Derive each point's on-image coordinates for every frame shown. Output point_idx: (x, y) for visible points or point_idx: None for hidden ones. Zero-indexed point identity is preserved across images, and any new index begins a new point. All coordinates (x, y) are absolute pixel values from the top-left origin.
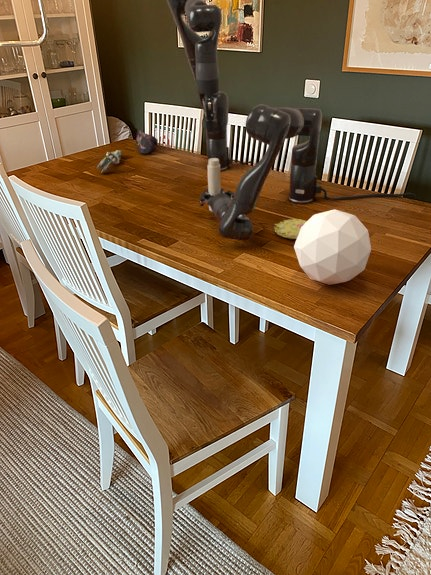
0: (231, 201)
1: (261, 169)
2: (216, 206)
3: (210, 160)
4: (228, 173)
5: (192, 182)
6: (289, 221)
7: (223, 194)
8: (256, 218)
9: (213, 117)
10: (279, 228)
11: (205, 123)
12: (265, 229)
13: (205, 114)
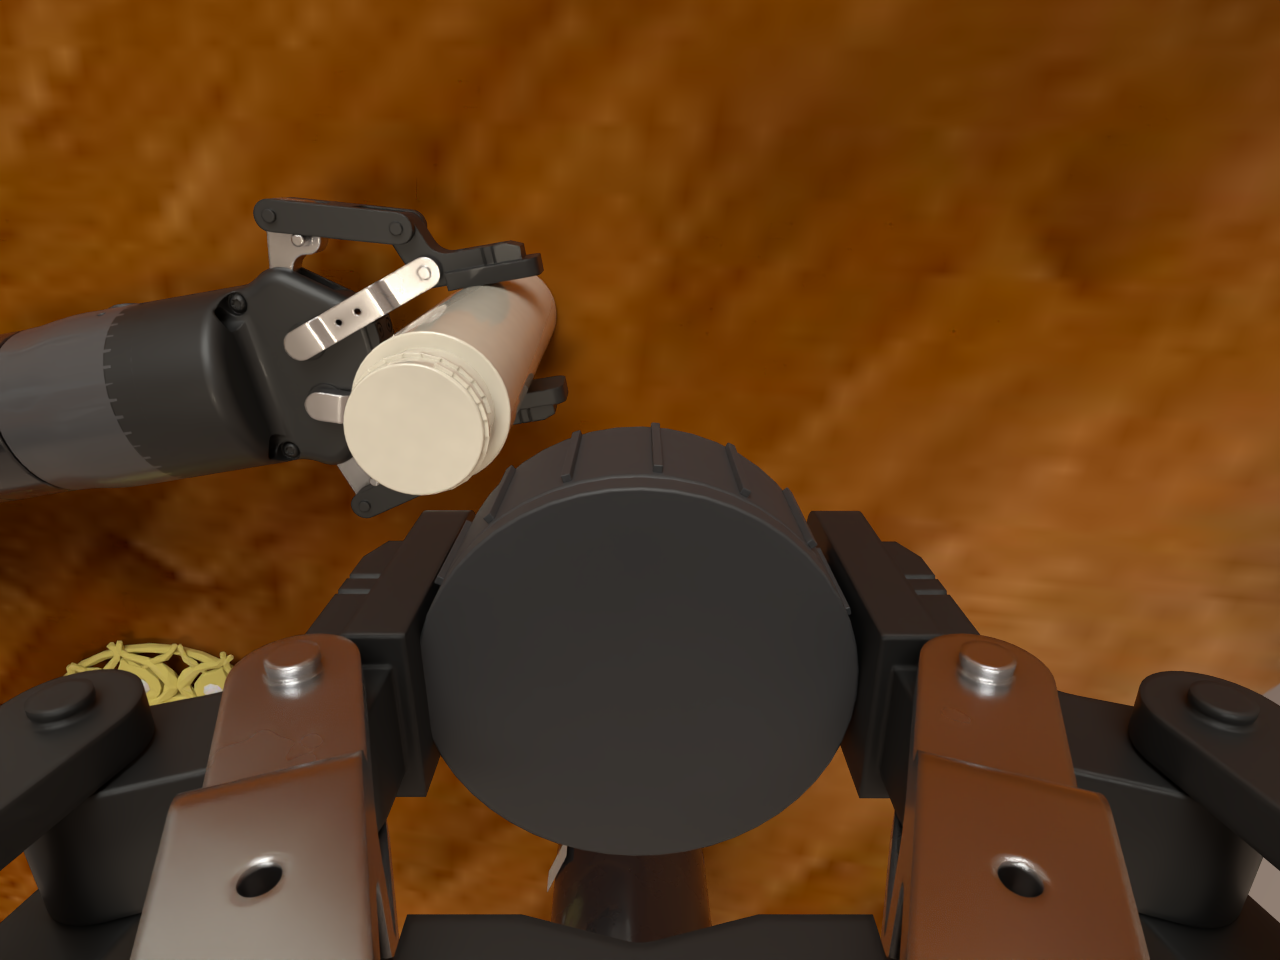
0: (92, 474)
1: None
2: (33, 344)
3: (379, 391)
4: (1263, 461)
5: (1167, 136)
6: None
7: (194, 424)
8: (352, 566)
9: (28, 941)
10: (154, 671)
11: (456, 559)
12: (191, 595)
13: (973, 673)
